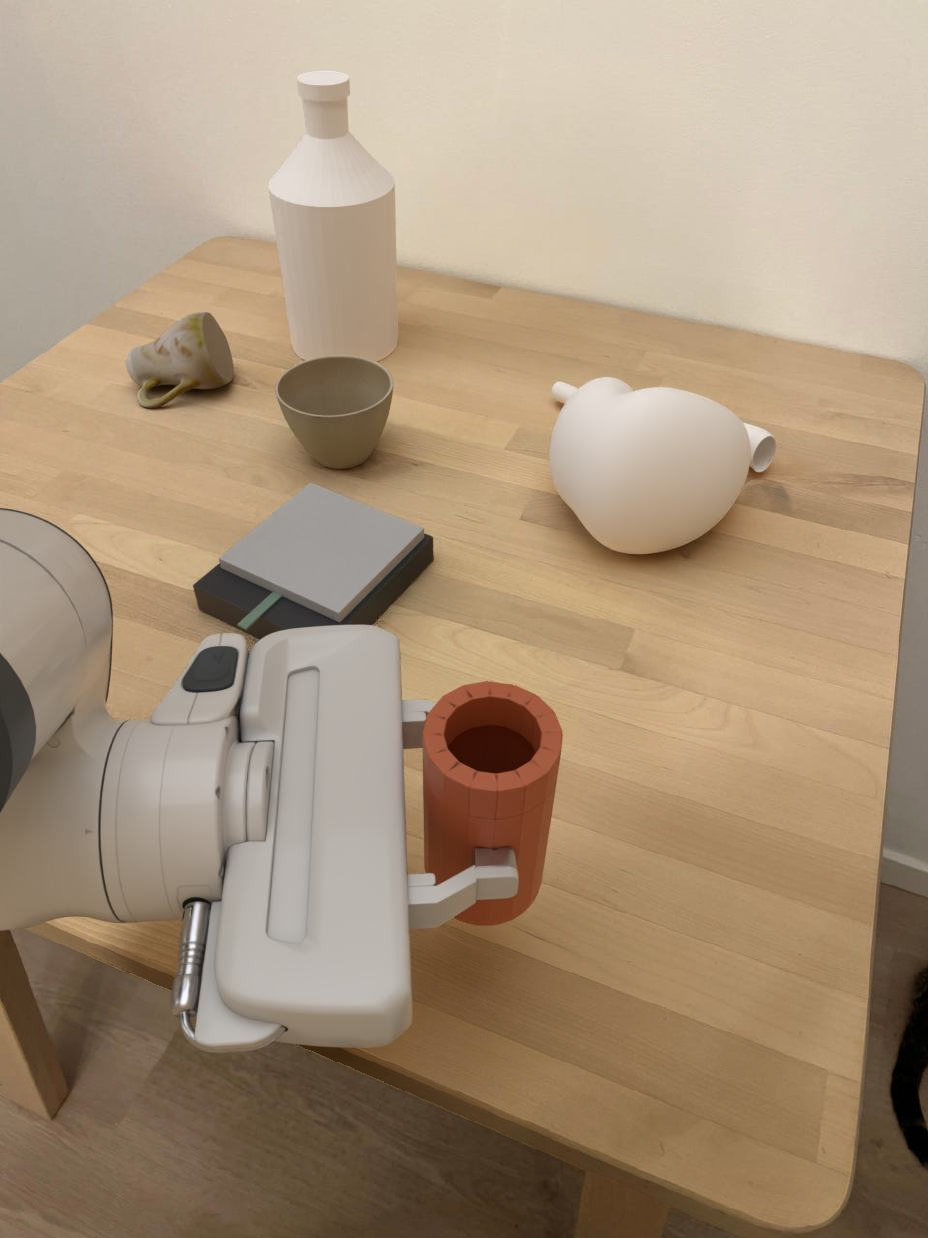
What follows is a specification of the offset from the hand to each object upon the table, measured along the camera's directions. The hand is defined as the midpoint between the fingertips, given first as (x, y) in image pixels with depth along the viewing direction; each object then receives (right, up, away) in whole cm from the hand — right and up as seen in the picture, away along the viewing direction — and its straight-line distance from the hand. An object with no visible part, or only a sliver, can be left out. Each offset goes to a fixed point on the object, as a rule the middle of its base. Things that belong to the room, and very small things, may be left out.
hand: (507, 800), depth 42 cm
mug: (-30, +31, +50) cm, 66 cm away
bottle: (-15, +38, +57) cm, 70 cm away
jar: (-1, -4, +4) cm, 6 cm away
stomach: (+12, +20, +39) cm, 45 cm away
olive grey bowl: (-13, +23, +42) cm, 50 cm away
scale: (-13, +11, +30) cm, 34 cm away
